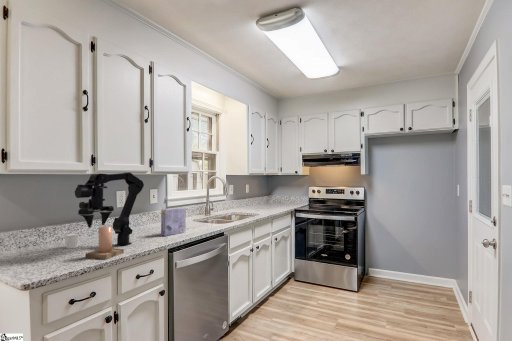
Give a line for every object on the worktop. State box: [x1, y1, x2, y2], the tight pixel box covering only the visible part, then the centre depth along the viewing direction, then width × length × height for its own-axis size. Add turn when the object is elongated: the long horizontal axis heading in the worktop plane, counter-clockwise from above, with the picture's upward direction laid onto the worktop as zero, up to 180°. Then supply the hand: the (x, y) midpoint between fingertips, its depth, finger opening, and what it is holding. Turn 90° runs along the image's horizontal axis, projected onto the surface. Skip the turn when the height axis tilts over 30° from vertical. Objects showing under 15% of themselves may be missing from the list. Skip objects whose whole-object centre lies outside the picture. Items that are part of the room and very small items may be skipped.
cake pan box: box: [160, 207, 187, 237], centre depth 199 cm, size 19×5×18 cm, turn 146°
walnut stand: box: [85, 247, 125, 260], centre depth 144 cm, size 12×12×2 cm
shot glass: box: [64, 233, 80, 249], centre depth 161 cm, size 7×7×7 cm
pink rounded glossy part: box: [98, 225, 113, 253], centre depth 144 cm, size 6×6×12 cm
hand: (96, 226), depth 153 cm, fingers open, 9 cm apart
